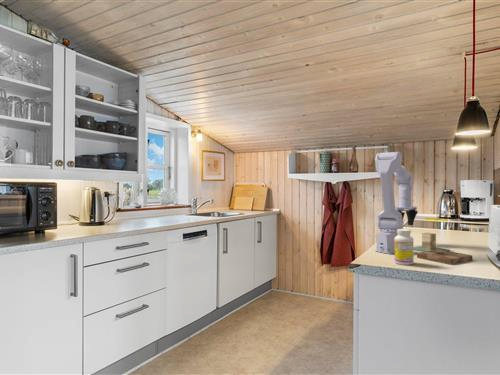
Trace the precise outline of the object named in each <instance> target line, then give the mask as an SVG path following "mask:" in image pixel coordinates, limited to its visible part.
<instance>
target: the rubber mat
mask: <svg viewBox="0 0 500 375" xmlns="http://www.w3.org/2000/svg"><path fill="white" fill-rule="evenodd" d="M413 250H414V251H418V252H426V251H432V250H427V249H422V245H420V246H413ZM433 250H444V251H450V252H451V249H449V248H448V249H447V248H442V247H437V246H436V249H433Z"/></svg>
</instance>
